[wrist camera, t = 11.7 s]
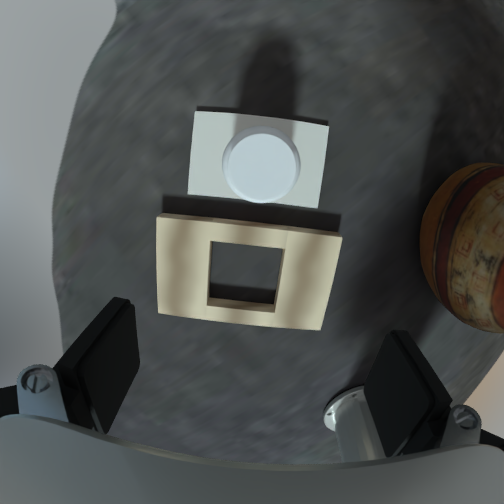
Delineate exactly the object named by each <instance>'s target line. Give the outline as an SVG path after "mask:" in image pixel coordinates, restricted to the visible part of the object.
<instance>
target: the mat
mask: <svg viewBox="0 0 504 504" xmlns="http://www.w3.org/2000/svg"><path fill="white" fill-rule="evenodd" d="M254 126H269V127H273V128H276V129H278V130H280V131H282V132H283V133H285V134H286V135H287V136H288V137H289V138H290V139H291V140H292V141H293V142H294V144H295V146H296V147H297V150H298V152H299V156H300V161H301V169H300V175H299V178H298V180H297V182H296V184H295V186H294V187H293V189H292V190H291V191H290V192H289V193H288V194H286V195H285V196H284V197H282V198H280V199H278V200H276V201H272V203H280V204H288V205H296V206H304V207H311V208H318V202H319V195H320V189H321V182H322V175H323V169H324V161H325V154H326V147H327V139H328V131H329V126H324V125H319V124H313V123H307V122H301V121H294V120H288V119H280V118H273V117H265V116H256V115H246V114H234V113H221V112H203V111H195V117H194V126H193V136H192V147H191V158H190V170H189V183H188V194H194V195H205V196H216V197H226V198H236V199H243V198H241V197H239V196H238V195H237V194H235V193H234V192H233V191H232V190H231V188H230V187H229V186H228V184H227V182H226V180H225V178H224V175H223V171H222V157H223V153H224V150H225V148H226V146H227V144H228V143H229V141H230V140H231V139H232V138H233V137H234V136H235V135H236V134H238V133H239V132H241V131H242V130H244V129H247V128H250V127H254Z"/></svg>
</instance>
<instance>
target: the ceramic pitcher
mask: <svg viewBox="0 0 504 504" xmlns="http://www.w3.org/2000/svg"><path fill="white" fill-rule="evenodd" d="M419 244H420V258H421V265H422V268H423V271H424V274H425V277H426V279H427V281H428V283H429V285H430V287H431V289H432V291H433V292H434V294H435V295H436V297H437V298H438V300H439V301H440V302H441V303H442V304H443V305H444V307H445V308H447V309H448V310H449V311H450V312H451V313H452V314H453V315H454V316H455V317H456V318H458V319H459V320H461V321H462V322H463V323H466V324H468V325H470V326H472V327H474V328H477V329H480V330H482V331H487V332H492V333H504V165H502V164H497V163H475V164H471V165H468V166H466V167H464V168H462V169H460V170H458V171H456V172H455V173H454V174H452V175H451V176H450V177H449V178H448V179H447V180H446V181H445V182H444V183H443V184H442V185H441V186H440V187H439V189H438V190H437V191H436V192H435V194H434V195H433V197H432V198H431V200H430V202H429V204H428V206H427V208H426V210H425V213H424V215H423V218H422V222H421V229H420V243H419Z"/></svg>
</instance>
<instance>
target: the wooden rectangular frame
mask: <svg viewBox="0 0 504 504" xmlns="http://www.w3.org/2000/svg"><path fill="white" fill-rule="evenodd" d="M342 238H343V237H342V236H341V235H340V234H339V233H338V232H332V231H325V230H317V229H309V228H301V227H293V226H284V225H276V224H267V223H259V222H250V221H240V220H231V219H221V218H211V217H201V216H191V215H180V214H169V213H162V214H160V215H159V216H158V217H157V234H156V254H157V295H158V313H162V314H169V315H175V316H182V317H189V318H197V319H204V320H212V321H221V322H229V323H238V324H248V325H258V326H269V327H281V328H294V329H309V330H320V329H321V325H322V322H323V318H324V314H325V311H326V307H327V303H328V299H329V295H330V291H331V287H332V283H333V279H334V274H335V270H336V266H337V261H338V257H339V252H340V247H341V243H342ZM212 241H219V242H228V243H237V244H247V245H256V246H265V247H274V248H283V251H282V258H281V264H280V271H279V277H278V283H277V289H276V295H275V301H274V304H265V303H255V302H245V301H236V300H227V299H218V298H210V297H209V289H210V271H211V255H212Z"/></svg>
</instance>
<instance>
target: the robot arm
mask: <svg viewBox="0 0 504 504" xmlns="http://www.w3.org/2000/svg"><path fill="white" fill-rule="evenodd" d="M139 366H140V358H139V349H138V340H137V330H136V318H135V307H134V305H133V304H131V303H130V300H128V299H123V298H118V297H114V298H112V300H111V301H110V302H109V303H108V304H107V305H106V306H105V307H104V308H103V310H102V311H101V312H100V313H99V314H98V315H97V316H96V317H95V319H94V320H93V321H92V322H91V323H90V324H89V325H88V327H87V328H86V329H85V330H84V331H83V332H82V333H81V334H80V336H79V337H78V338H77V339H76V340H75V342H74V343H73V344H72V345H71V346H70V348H69V349H68V350H67V351H66V352H65V354H64V355H63V356H62V357H61V359H60V360H59V361H58V362H57V364H56V365H55V366H54V367H53V368H51V367H49V366H47V365H42V364H38V365H37V364H36V365H31V366H28V367H27V368H25V369H23V370H22V371H21V372H20V374H19V376H18V378H17V385H14V386H10V387H5V388H0V504H504V439H503V438H500V437H498V436H496V435H494V434H491V433H489V432H487V431H485V430H483V429H481V425H482V424H481V418H480V416H479V415H478V413H477V412H476V411H475V410H474V409H473V408H471V407H469V406H467V405H460V404H459V405H456V406H454V407H453V408H452V409H451V407H450V406H449V405H450V404H451V402H452V401H453V400H452V398H451V397H450V395H449V393H448V392H447V390H446V389H445V387H444V386H443V384H442V382H441V381H440V379H439V378H438V376H437V375H436V373H435V372H434V370H433V369H432V367H431V366H430V364H429V363H428V361H427V360H426V358H425V357H424V355H423V354H422V352H421V351H420V349H419V348H418V346H417V345H416V343H415V342H414V341H413V339H412V338H411V336H410V335H409V334H408V332H407V331H404V330H393V331H391V332H390V334H387V335H386V337H385V339H384V342H383V344H382V346H381V349H380V351H379V353H378V356H377V358H376V360H375V363H374V365H373V367H372V369H371V371H370V374H369V376H368V378H367V380H366V382H365V384H364V386H359V387H356V388H353V389H350V390H348V391H346V392H344V393H342V394H340V395H339V396H337V397H336V398H335V399H333V400H332V401H331V402H330V403H329V404H328V406H327V407H326V409H325V411H324V414H323V418H324V423H325V425H326V426H327V427H328V428H329V429H331V430H333V431H336V436H337V440H338V445H339V449H340V454H341V458H342V463H333V464H306V465H288V464H261V463H247V462H236V461H227V460H219V459H211V458H204V457H198V456H192V455H186V454H181V453H176V452H171V451H166V450H162V449H158V448H153V447H149V446H145V445H142V444H138V443H134V442H130V441H126V440H123V439H119V438H116V437H113V436H109V435H106V434H107V433H108V431H109V429H110V427H111V425H112V423H113V421H114V419H115V417H116V415H117V412H118V410H119V408H120V406H121V404H122V402H123V400H124V398H125V396H126V394H127V392H128V390H129V388H130V386H131V384H132V382H133V380H134V378H135V376H136V374H137V372H138V369H139ZM103 433H104V434H103Z"/></svg>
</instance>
